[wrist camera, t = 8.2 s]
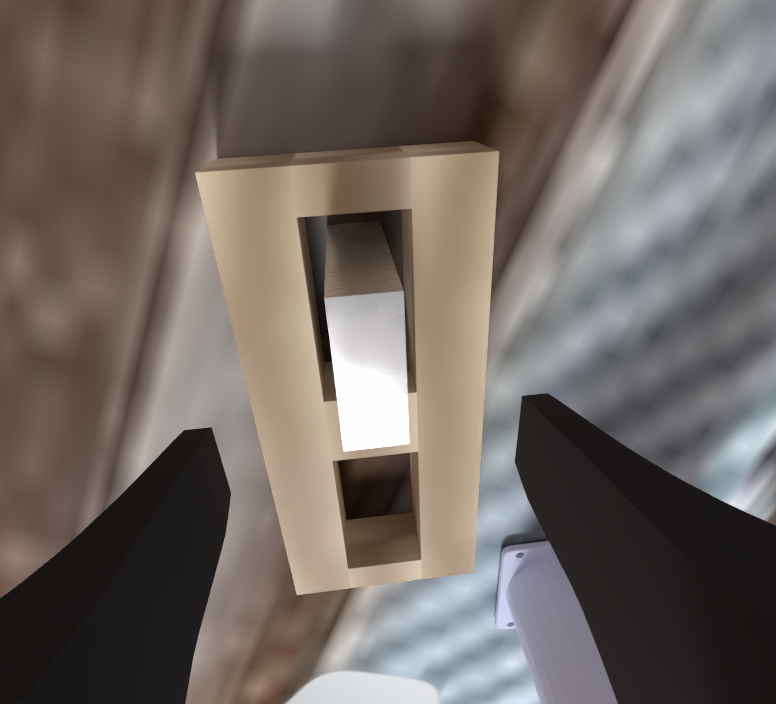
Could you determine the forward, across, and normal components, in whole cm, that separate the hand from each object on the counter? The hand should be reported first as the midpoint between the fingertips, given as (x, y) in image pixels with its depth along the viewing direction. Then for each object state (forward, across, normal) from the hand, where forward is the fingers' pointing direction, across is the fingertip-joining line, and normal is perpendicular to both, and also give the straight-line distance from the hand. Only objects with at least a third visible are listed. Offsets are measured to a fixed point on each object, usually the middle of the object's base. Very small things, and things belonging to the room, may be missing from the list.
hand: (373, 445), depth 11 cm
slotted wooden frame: (+9, 0, +5) cm, 10 cm away
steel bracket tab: (+9, 0, 0) cm, 9 cm away
